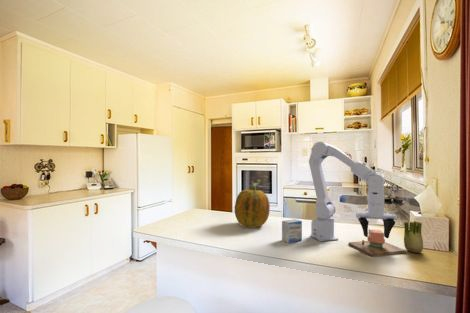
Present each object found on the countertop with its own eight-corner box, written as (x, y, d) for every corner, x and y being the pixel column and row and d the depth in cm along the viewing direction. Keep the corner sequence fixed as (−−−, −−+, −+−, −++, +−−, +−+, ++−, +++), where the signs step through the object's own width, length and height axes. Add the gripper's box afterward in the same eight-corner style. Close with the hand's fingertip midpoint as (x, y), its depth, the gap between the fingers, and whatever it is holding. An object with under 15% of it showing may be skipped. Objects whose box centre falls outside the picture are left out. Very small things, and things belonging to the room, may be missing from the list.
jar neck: (376, 248, 89) (376, 244, 89) (366, 244, 94) (366, 240, 94) (385, 247, 90) (385, 243, 90) (375, 243, 95) (375, 239, 95)
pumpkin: (267, 222, 131) (267, 178, 132) (271, 232, 112) (272, 181, 112) (234, 221, 131) (235, 178, 132) (233, 231, 112) (234, 180, 113)
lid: (386, 244, 88) (386, 233, 88) (369, 242, 90) (369, 231, 90) (382, 239, 94) (382, 229, 94) (365, 238, 96) (365, 227, 96)
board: (371, 256, 84) (371, 249, 84) (348, 244, 96) (348, 238, 96) (406, 253, 88) (406, 246, 88) (379, 242, 100) (379, 236, 100)
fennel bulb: (403, 251, 90) (403, 220, 90) (405, 248, 93) (404, 218, 93) (422, 255, 86) (422, 223, 86) (423, 251, 89) (423, 221, 90)
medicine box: (288, 243, 97) (288, 222, 97) (281, 240, 101) (281, 220, 101) (302, 240, 101) (302, 220, 101) (295, 237, 105) (295, 218, 105)
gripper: (390, 202, 95) (390, 234, 95) (353, 200, 98) (353, 232, 97) (399, 205, 88) (399, 240, 88) (359, 203, 91) (359, 238, 90)
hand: (375, 236), depth 92 cm, fingers open, 7 cm apart
